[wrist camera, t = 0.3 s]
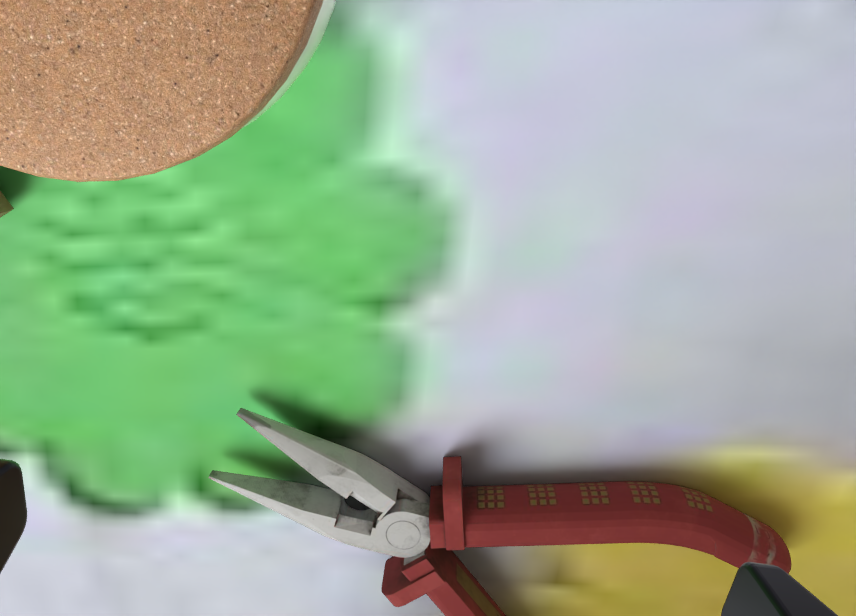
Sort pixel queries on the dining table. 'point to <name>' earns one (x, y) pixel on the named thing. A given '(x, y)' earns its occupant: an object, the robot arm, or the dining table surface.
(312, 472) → the pliers
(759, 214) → the dining table surface
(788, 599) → the robot arm
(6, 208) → the wooden slab
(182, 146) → the lidded jar
